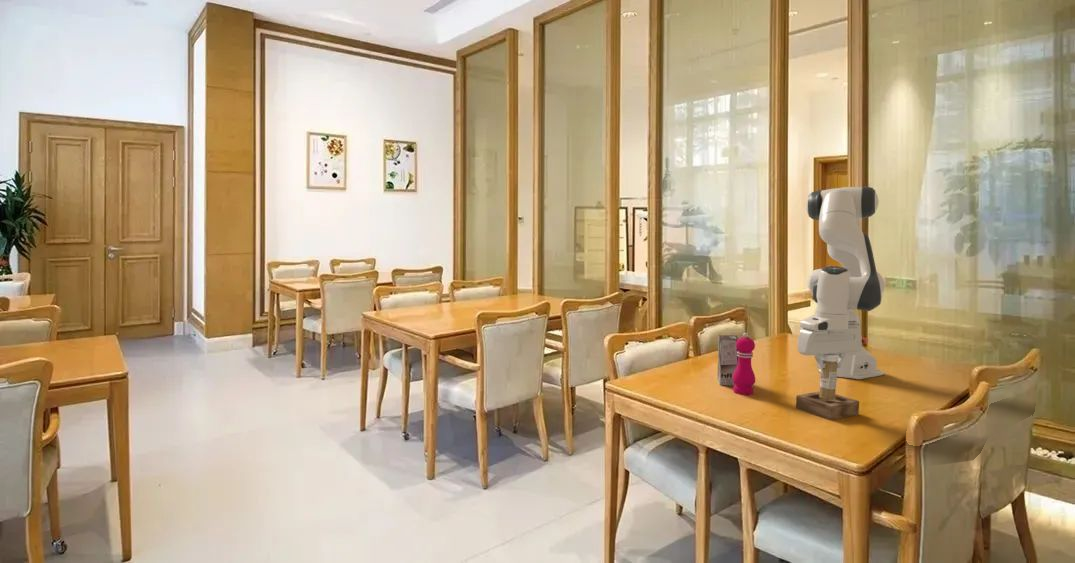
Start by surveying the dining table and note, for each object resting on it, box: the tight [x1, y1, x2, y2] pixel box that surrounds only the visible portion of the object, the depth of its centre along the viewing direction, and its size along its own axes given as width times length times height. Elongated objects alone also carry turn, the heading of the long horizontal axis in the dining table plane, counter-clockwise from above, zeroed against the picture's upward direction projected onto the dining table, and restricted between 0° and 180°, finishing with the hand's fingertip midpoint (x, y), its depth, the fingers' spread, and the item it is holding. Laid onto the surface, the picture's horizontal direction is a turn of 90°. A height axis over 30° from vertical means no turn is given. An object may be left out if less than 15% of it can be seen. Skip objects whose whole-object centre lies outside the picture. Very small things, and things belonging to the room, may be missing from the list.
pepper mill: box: [732, 332, 756, 396], centre depth 198 cm, size 7×7×20 cm
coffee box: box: [717, 334, 739, 387], centre depth 210 cm, size 9×6×16 cm
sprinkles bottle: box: [819, 354, 838, 400], centre depth 178 cm, size 5×5×13 cm
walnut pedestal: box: [795, 390, 860, 421], centre depth 179 cm, size 12×12×4 cm
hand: (828, 368), depth 178 cm, fingers closed on sprinkles bottle, 4 cm apart
